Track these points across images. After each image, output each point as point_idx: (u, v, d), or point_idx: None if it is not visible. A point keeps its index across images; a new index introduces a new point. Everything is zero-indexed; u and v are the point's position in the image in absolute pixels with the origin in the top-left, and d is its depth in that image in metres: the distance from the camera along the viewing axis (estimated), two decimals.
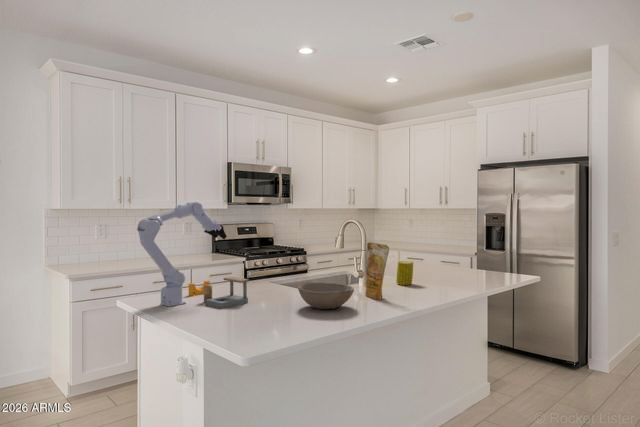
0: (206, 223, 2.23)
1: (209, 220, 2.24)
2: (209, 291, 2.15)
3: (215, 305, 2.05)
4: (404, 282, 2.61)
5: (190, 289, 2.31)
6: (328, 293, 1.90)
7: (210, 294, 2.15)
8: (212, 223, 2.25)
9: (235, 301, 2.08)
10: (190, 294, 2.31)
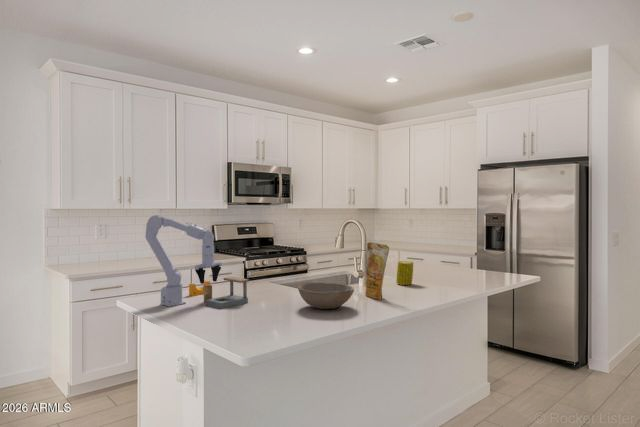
0: (202, 256, 2.15)
1: (204, 256, 2.14)
2: (209, 291, 2.15)
3: (215, 305, 2.05)
4: (404, 282, 2.61)
5: (191, 289, 2.31)
6: (328, 293, 1.90)
7: (210, 294, 2.15)
8: (204, 261, 2.14)
9: (235, 301, 2.08)
10: (191, 294, 2.31)
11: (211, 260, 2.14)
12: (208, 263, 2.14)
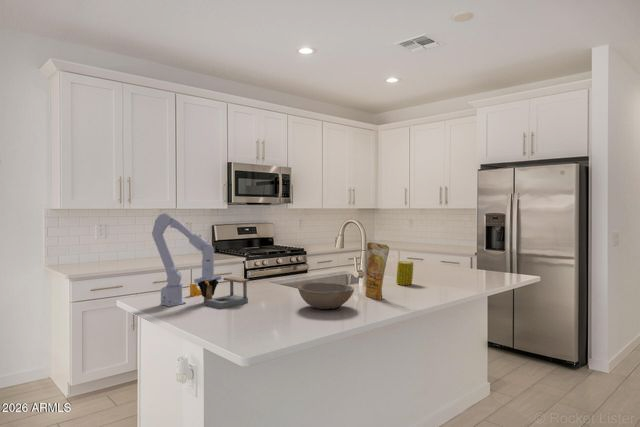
0: (202, 269, 2.15)
1: (203, 270, 2.14)
2: (209, 291, 2.15)
3: (215, 305, 2.05)
4: (404, 282, 2.61)
5: (191, 289, 2.30)
6: (328, 293, 1.90)
7: (210, 294, 2.15)
8: (204, 275, 2.14)
9: (235, 301, 2.08)
10: (191, 294, 2.30)
11: (211, 274, 2.14)
12: (208, 277, 2.14)
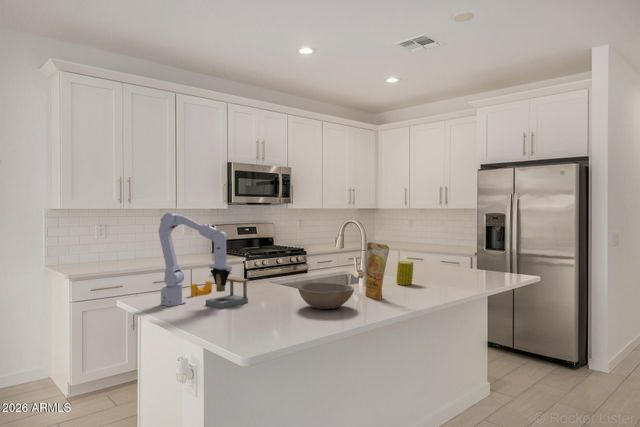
0: (220, 258, 2.07)
1: (224, 258, 2.09)
2: None
3: (215, 305, 2.05)
4: (404, 282, 2.61)
5: (192, 289, 2.30)
6: (328, 293, 1.90)
7: None
8: (225, 263, 2.09)
9: (235, 301, 2.08)
10: (192, 294, 2.30)
11: None
12: None
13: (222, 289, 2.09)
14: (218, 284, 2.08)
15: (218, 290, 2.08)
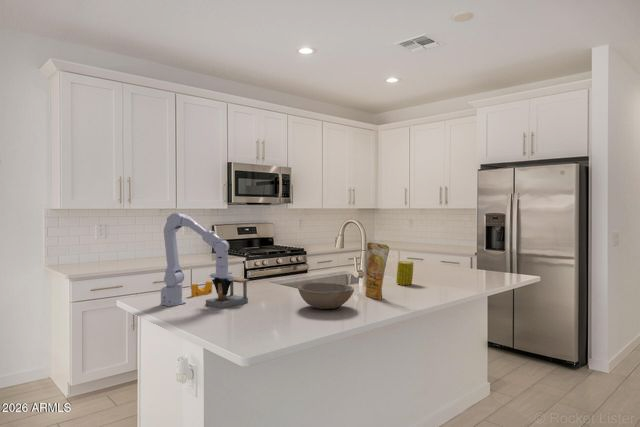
0: (222, 267, 2.06)
1: (226, 267, 2.08)
2: None
3: (215, 305, 2.05)
4: (404, 282, 2.61)
5: (193, 290, 2.30)
6: (328, 293, 1.90)
7: None
8: (226, 272, 2.08)
9: (235, 301, 2.08)
10: (193, 295, 2.30)
11: None
12: None
13: (224, 298, 2.08)
14: (220, 293, 2.08)
15: (220, 299, 2.08)
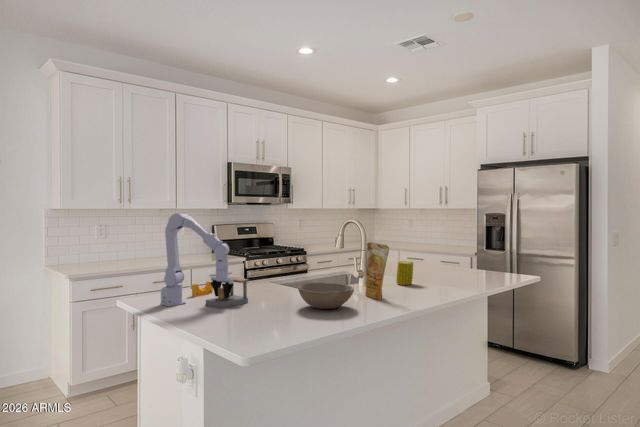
0: (222, 270, 2.07)
1: (226, 270, 2.08)
2: None
3: (215, 305, 2.05)
4: (404, 282, 2.61)
5: (194, 290, 2.29)
6: (328, 293, 1.90)
7: None
8: (226, 275, 2.08)
9: (235, 301, 2.08)
10: (194, 295, 2.29)
11: None
12: None
13: None
14: (220, 298, 2.08)
15: None
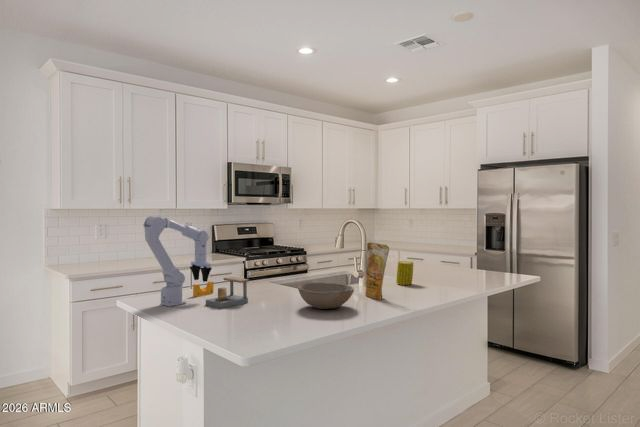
0: (200, 255, 2.20)
1: (204, 255, 2.21)
2: None
3: (215, 305, 2.05)
4: (404, 282, 2.61)
5: (195, 290, 2.29)
6: (328, 293, 1.90)
7: None
8: (204, 260, 2.21)
9: (235, 301, 2.08)
10: (195, 295, 2.29)
11: None
12: None
13: None
14: (220, 298, 2.08)
15: None
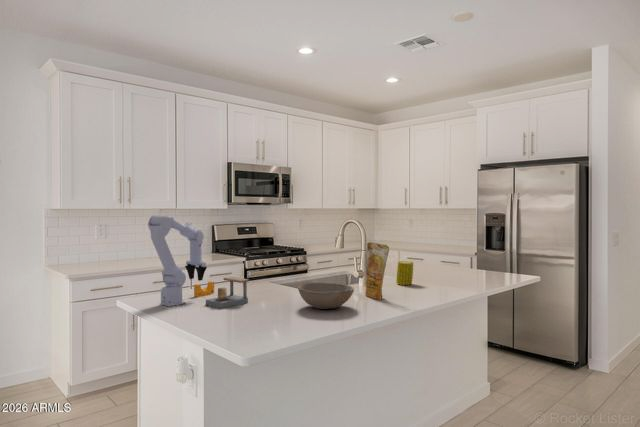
0: (195, 255, 2.23)
1: (199, 254, 2.25)
2: None
3: (215, 305, 2.05)
4: (404, 282, 2.61)
5: (196, 290, 2.28)
6: (328, 293, 1.90)
7: None
8: (200, 259, 2.25)
9: (235, 301, 2.08)
10: (196, 295, 2.28)
11: None
12: (201, 260, 2.27)
13: None
14: (220, 298, 2.08)
15: None
